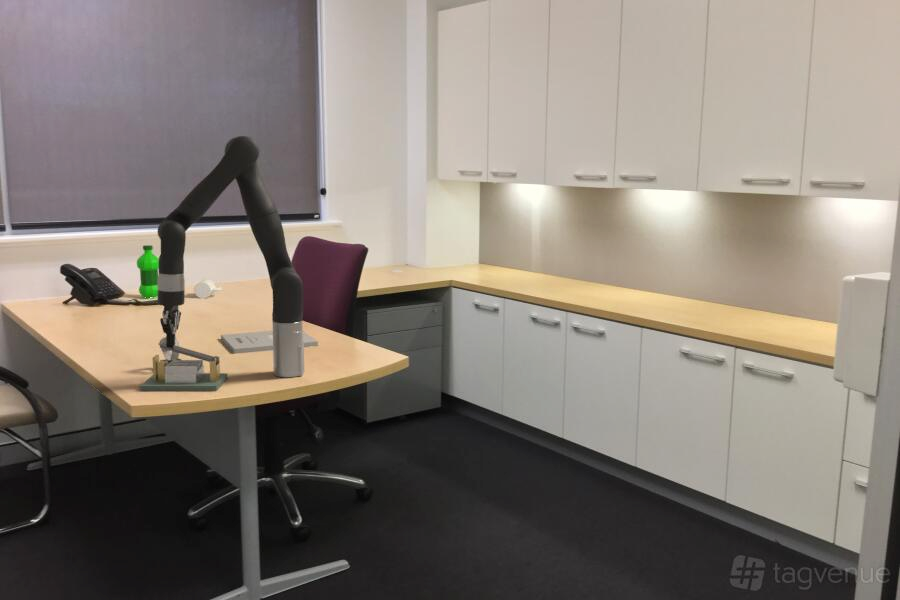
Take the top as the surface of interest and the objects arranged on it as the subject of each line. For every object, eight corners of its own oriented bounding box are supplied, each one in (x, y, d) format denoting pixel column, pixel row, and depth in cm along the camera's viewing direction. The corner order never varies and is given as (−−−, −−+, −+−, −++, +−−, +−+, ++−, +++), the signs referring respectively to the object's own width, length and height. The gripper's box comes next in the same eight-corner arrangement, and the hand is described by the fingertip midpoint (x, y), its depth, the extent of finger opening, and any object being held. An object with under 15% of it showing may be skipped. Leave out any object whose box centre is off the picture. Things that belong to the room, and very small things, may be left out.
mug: (194, 298, 387) (193, 282, 386) (199, 295, 397) (198, 279, 395) (219, 298, 388) (219, 282, 387) (223, 295, 398) (223, 279, 396)
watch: (174, 365, 263) (172, 332, 261) (185, 370, 258) (184, 337, 256) (157, 368, 259) (156, 335, 257) (168, 373, 254) (167, 339, 252)
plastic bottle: (157, 295, 394) (155, 244, 390) (164, 298, 386) (161, 246, 381) (136, 296, 389) (133, 245, 384) (142, 300, 380) (139, 247, 376)
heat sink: (204, 375, 247) (203, 359, 246) (196, 383, 238) (195, 367, 237) (174, 375, 246) (173, 359, 245) (165, 383, 237) (164, 367, 236)
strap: (217, 361, 243) (219, 356, 243) (215, 364, 240) (216, 359, 239) (163, 345, 242) (164, 340, 241) (159, 348, 238) (160, 343, 238)
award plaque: (221, 340, 302) (220, 334, 302) (299, 333, 315) (299, 328, 315) (234, 355, 281) (234, 348, 280) (318, 347, 294) (317, 341, 293)
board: (227, 378, 250) (227, 373, 249) (216, 390, 236) (216, 386, 235) (155, 377, 249) (155, 373, 248) (140, 390, 235) (139, 385, 235)
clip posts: (220, 377, 245) (220, 354, 244) (216, 381, 240) (215, 358, 238) (158, 376, 244) (157, 354, 243) (152, 381, 239) (151, 358, 238)
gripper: (177, 292, 231) (177, 351, 233) (190, 285, 244) (189, 341, 247) (150, 291, 230) (150, 350, 233) (165, 284, 243) (164, 340, 246)
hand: (170, 345), depth 240 cm, fingers closed
